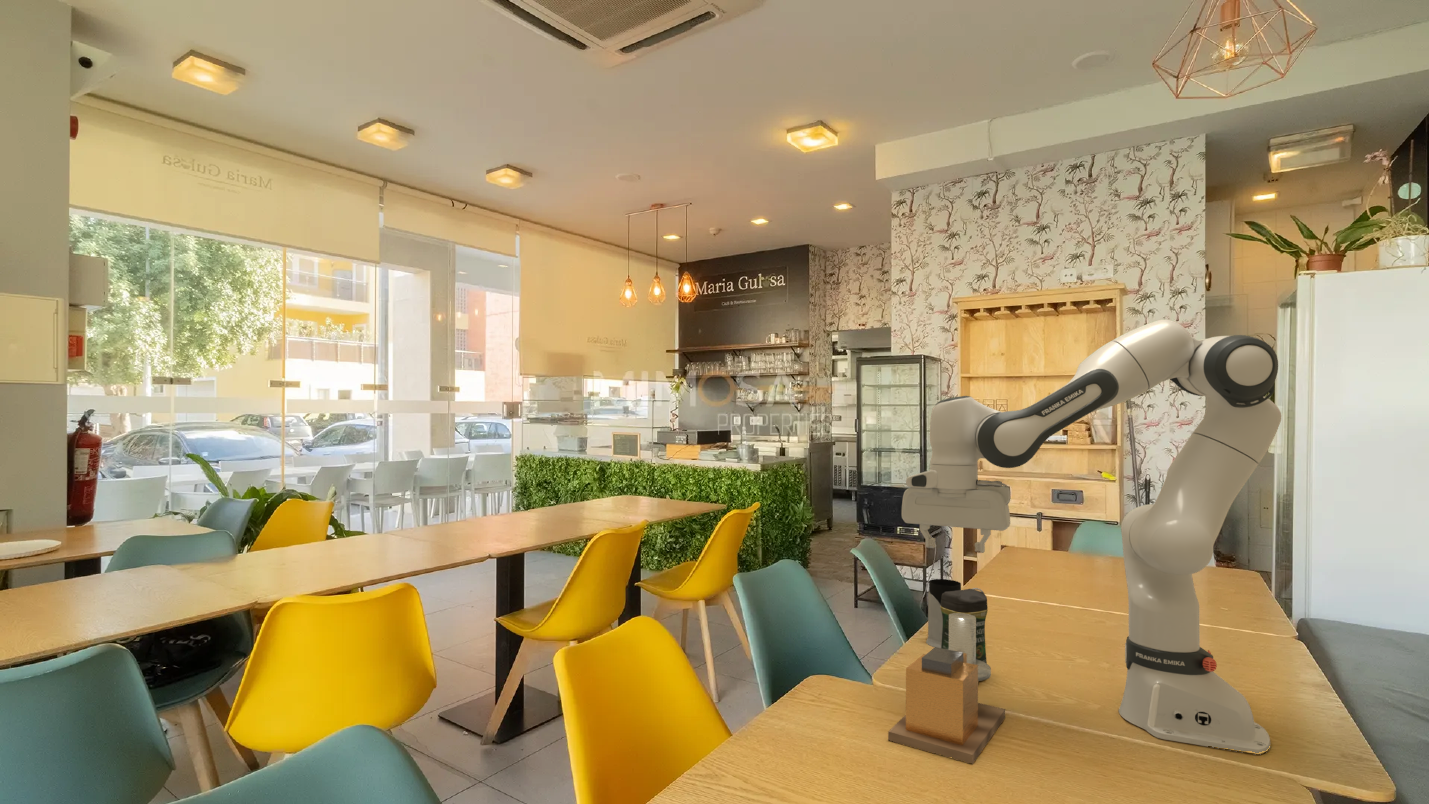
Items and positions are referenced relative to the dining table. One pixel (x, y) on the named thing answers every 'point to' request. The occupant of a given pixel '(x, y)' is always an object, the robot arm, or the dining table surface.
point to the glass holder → (938, 608)
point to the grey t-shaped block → (942, 661)
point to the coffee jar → (968, 604)
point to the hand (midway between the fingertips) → (954, 549)
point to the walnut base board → (968, 752)
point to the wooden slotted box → (947, 689)
